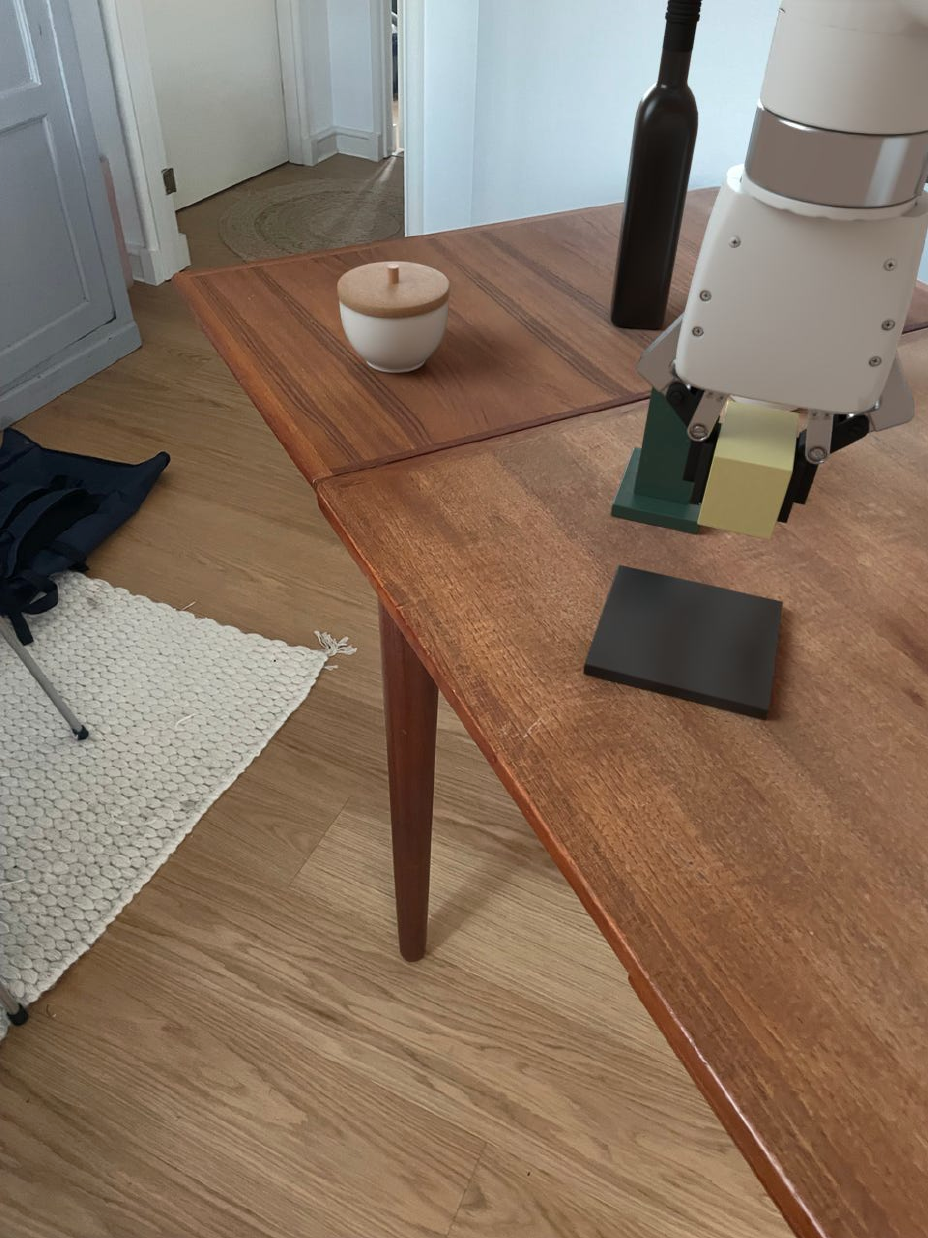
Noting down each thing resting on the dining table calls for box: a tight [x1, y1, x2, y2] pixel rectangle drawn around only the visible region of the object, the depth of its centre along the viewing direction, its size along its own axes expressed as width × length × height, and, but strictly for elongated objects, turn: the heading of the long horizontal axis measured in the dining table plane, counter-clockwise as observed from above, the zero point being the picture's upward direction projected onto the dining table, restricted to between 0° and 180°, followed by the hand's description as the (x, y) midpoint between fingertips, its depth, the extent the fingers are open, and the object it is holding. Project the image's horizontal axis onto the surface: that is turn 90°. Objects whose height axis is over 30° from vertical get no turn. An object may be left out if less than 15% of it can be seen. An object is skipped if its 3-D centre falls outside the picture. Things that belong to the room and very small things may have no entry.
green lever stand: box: [610, 359, 702, 535], centre depth 73 cm, size 7×9×13 cm
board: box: [582, 564, 784, 721], centre depth 65 cm, size 12×11×1 cm
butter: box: [697, 400, 801, 541], centre depth 52 cm, size 4×6×4 cm, turn 162°
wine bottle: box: [609, 0, 703, 330], centre depth 92 cm, size 6×6×30 cm
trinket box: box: [336, 261, 451, 374], centre depth 91 cm, size 11×11×9 cm
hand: (740, 497), depth 53 cm, fingers closed on butter, 4 cm apart
